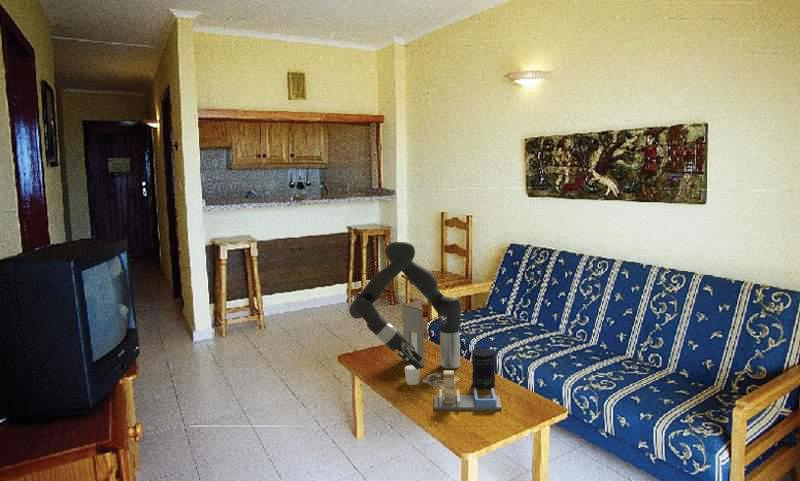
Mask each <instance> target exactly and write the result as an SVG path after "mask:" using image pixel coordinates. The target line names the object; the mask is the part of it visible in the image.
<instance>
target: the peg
mask: <svg viewBox="0 0 800 481" xmlns="http://www.w3.org/2000/svg"><path fill="white" fill-rule="evenodd" d="M443 388H444V389H443V390H444V393H443V395H444V399H445V403H455V395H456V394H455V371H454V370H443Z"/></svg>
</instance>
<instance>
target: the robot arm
mask: <svg viewBox="0 0 800 481" xmlns="http://www.w3.org/2000/svg"><path fill="white" fill-rule="evenodd" d="M385 254H386V257H387V259H388V260H389V262H390V263H389V264H388V265H387V266H385V267H384V268H383V269H382V270H381V269H380V271H378V272H377V273H376V274H375V275H373V276H372V277H371V279H370V280H369V281H368V282H367V284H366V285H365V286H364V288H363V290H362V291H361V293H360V294H358V295H357V297H355V299H354V300H353V301H352V303H351V304H350V306H349V309H348V311H349V312H348V313H349V315H350V316H351V317H352V318H354V319H355V320H356V319H363V320H364V321H365V322H366V326H367V328H368V330H369V331H371V332H372V333H373V334H374V335H375V336H376V337H377V339H379V340H380V341H381V343H383V344H384V345H385V346H386V347H387V348H388V349H389V350H390V351H391V352H394V351H396V350H397V351H398V352H397V355H398V356H399V358H401V359H402V360H403V361H404V362H405V363H406V364H407V365H413V366H414V367H415V368H416V369H417V370H418V369H419V368H420V369H421V368H422V367H421V365H420V364H419V363H418V362H419V361H420V360H421V359H422V357H421V356H420V355H419V354H418V353H417V352H415V350H414V349H415V348H414V347H413V346H412V345H411V344H410V343H409V342H407V341H406V340H405V337H404V336H403V333H401V332H400V331H399V330H398V329H397V328H396V327H395V326H394V325H393V324H391V323H390V322H388V320H386V319H385V317H383V316H382V315H381V314H380V313H379V311H378V309H376V307H375V306H374V303H375V302H376V301H377V300H378V299H379V298H380V297H381V296H382V294H383V293H384V291H385V290H386V289H387V287H388V286H389V285H390V283H392V281H393V280H394V279H396V277H397V276H398V275H399V274H400V273H401V272H402V273H403V274H404V275H405V277H406V278H407V279H408V280H409V281H410V283H412V284H413V285H414V287H415V288H416V289H417V290H418V291H419V292H420V293H421V294H422V295H423V296H424V297H425V298H426V299H427V301H429V303H430V304H431V306H432V307H433V309H434V310H435V311H436V313H437V314H438V315H440V316H442V317H447V318H446V321H445V322H443V323H440V325H439V342H440V343H439V346H440V347H439V348H440V349H439V350H440V366H441V367H442V368H443V369H447V370H450V369H451V370H452V369H457V368H460V366H461V349H460V348H461V346H460V345H461V344H460V343H461V342H460V341H461V340H460V338H461V337H460V327H461V323H462V322H461V320H462V305H461V301H460V300H459V299H458V298H455V297H451V296H450V297H449V296H446V295H444V294H443V293H442V292H441V291H440V290H439V289H438V287H439V285H438V281H437V279H436V277H435V276H434V274H433V273H431V271H430V270H429V269H428V268H426V267H424V266H423V265H421V264H420V263H418V262H416V261H415V260H414V258H415V254H416V250H415V246H414V245H413V244H412V243H410V242H406V241H393V242H392V241H391V243H389V244H387V246H386V250H385ZM413 357H414V358H415V359H416V360H417V361H418V362H417V361H416V360H415V359H414V358H413Z"/></svg>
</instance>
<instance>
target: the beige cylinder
mask: <svg viewBox="0 0 800 481" xmlns="http://www.w3.org/2000/svg"><path fill="white" fill-rule="evenodd" d="M420 369H421V367H420V368H419V369H418V370H417V369H416V368H415V367H414V366H413V365H412V364H407V365H405V366H404V374H405V375H404V376H405V381H406V382H405V383H406V384H407V385H409V386H415V385H418V384H419V383H420V374H421V373H420V372H421V370H420Z"/></svg>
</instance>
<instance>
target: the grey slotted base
mask: <svg viewBox="0 0 800 481" xmlns="http://www.w3.org/2000/svg"><path fill="white" fill-rule="evenodd" d="M494 388H495V387H493V388H491V389H490V394H488V395H487V394H486V395H485V394H484V395H481V394H480V395H478V391H477V390H478V389H477V388H475V387H474V388H473V394H472V395H470V394H467V395H466V394H465V395H464V394H463V395H460V389H456V394H455V403H445V399H444V394H443V389H439V395H434V408H433V409H434V411H502V409H503V407H502V402H501V399H500V395H496V392H495V389H494Z"/></svg>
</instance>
